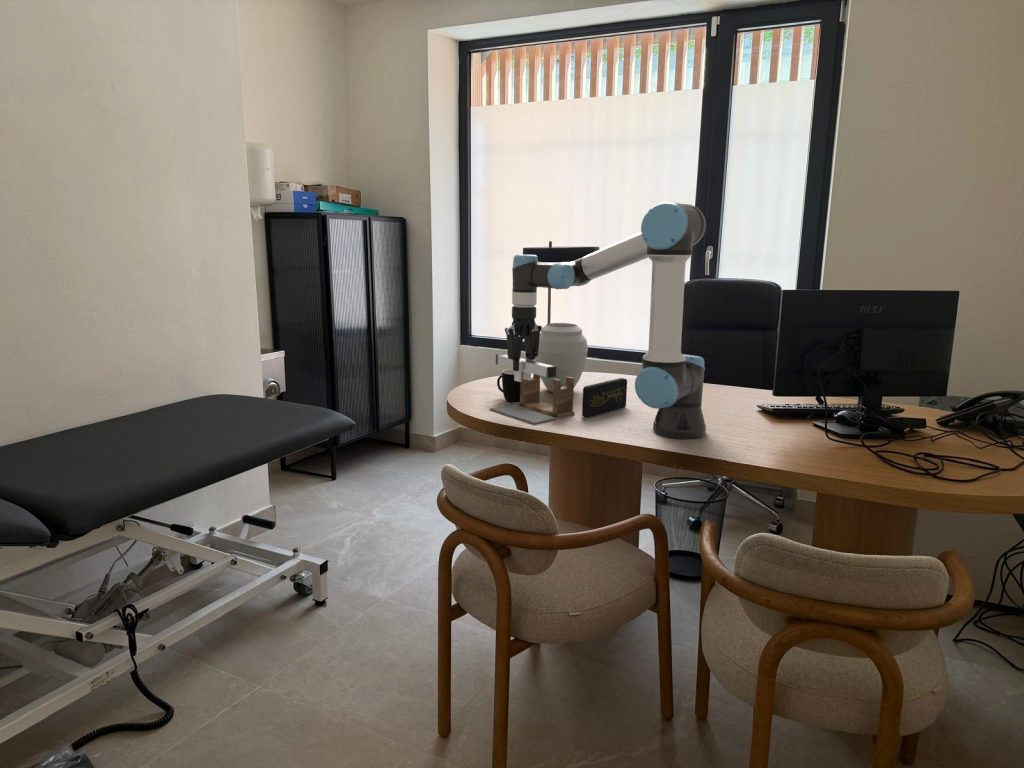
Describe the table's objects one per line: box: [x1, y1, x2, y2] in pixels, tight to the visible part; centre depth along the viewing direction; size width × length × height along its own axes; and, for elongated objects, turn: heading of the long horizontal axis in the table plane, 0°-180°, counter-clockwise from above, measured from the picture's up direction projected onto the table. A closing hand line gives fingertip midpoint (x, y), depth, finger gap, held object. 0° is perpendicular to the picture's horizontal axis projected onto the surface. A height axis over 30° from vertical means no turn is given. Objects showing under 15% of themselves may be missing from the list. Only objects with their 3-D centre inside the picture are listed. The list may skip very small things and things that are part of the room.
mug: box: [496, 368, 520, 403], centre depth 239 cm, size 12×9×10 cm
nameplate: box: [581, 377, 628, 419], centre depth 224 cm, size 21×2×10 cm, turn 135°
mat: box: [489, 403, 557, 426], centre depth 220 cm, size 22×9×1 cm, turn 39°
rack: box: [518, 371, 575, 419], centre depth 225 cm, size 20×7×12 cm, turn 39°
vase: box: [535, 322, 589, 393], centre depth 252 cm, size 20×20×24 cm
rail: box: [495, 353, 556, 378], centre depth 216 cm, size 25×3×3 cm, turn 39°
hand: (522, 380), depth 218 cm, fingers closed on rail, 3 cm apart
